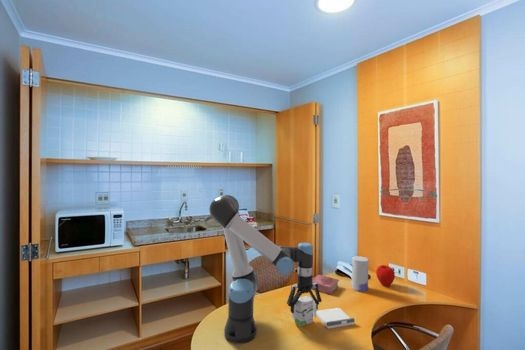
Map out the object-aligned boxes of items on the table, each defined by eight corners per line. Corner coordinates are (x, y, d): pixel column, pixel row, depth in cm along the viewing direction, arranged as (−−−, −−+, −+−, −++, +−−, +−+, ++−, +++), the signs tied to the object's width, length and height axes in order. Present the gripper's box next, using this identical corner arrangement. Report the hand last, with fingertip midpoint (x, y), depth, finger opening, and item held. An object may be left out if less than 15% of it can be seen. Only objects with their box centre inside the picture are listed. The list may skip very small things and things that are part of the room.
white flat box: (328, 328, 129) (328, 323, 129) (314, 313, 142) (314, 308, 142) (354, 324, 133) (354, 319, 133) (338, 309, 147) (339, 304, 146)
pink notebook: (309, 289, 172) (309, 281, 171) (318, 281, 184) (318, 274, 184) (330, 295, 163) (330, 287, 163) (338, 287, 176) (338, 279, 176)
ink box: (300, 327, 130) (301, 303, 129) (294, 322, 134) (294, 299, 134) (313, 321, 134) (314, 299, 134) (306, 317, 139) (307, 295, 138)
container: (354, 283, 180) (355, 254, 180) (369, 287, 175) (370, 258, 174) (349, 289, 172) (350, 258, 172) (365, 293, 167) (366, 262, 166)
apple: (372, 281, 184) (372, 262, 184) (387, 281, 186) (388, 262, 185) (381, 289, 173) (382, 269, 172) (398, 289, 174) (399, 269, 173)
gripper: (286, 279, 127) (285, 324, 127) (329, 275, 133) (328, 318, 134) (280, 273, 134) (280, 316, 134) (322, 269, 140) (321, 310, 141)
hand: (304, 317), depth 134 cm, fingers open, 11 cm apart
